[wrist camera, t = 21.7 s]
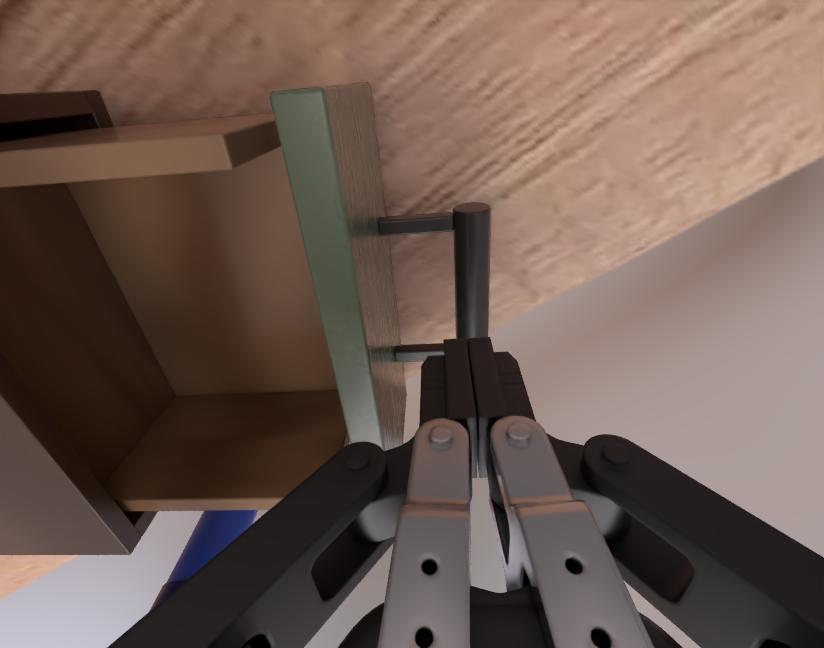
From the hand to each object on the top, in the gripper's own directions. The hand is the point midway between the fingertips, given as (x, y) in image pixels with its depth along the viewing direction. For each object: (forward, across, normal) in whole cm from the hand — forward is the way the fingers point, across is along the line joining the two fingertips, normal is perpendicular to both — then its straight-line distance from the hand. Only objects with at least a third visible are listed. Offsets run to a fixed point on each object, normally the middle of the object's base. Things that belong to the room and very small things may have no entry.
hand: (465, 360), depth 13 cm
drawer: (+7, +8, 0) cm, 10 cm away
